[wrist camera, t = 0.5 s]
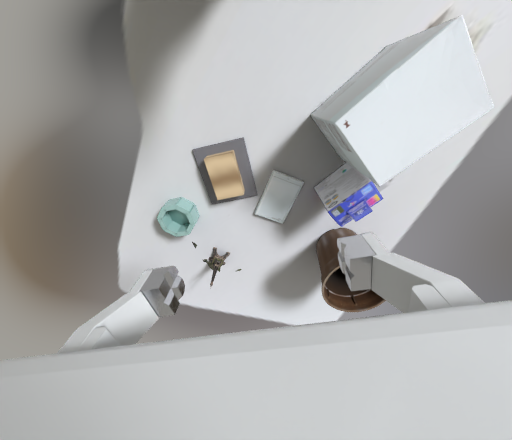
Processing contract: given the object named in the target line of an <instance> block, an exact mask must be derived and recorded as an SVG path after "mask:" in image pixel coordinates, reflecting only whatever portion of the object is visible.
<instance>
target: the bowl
mask: <svg viewBox="0 0 512 440" xmlns="http://www.w3.org/2000/svg"><path fill="white" fill-rule="evenodd" d="M157 218H158V221H159V223H160V225H161V227H162V229H163V230H164V231H165V232H167V233H169V234H171V235H173V236H175V237H176V236H177V237H179V236H184V235H189V234H190V233H191V231H192V229H193V227H194V226H195V224H196V222H197V220H198V218H199V213H198V210H197V208H196V205H194V203H192V202H190V201H188V200H187V199H185V198H183V197H180V198H175V199H170V200H168V202H167V203H166V204H165V205H164V206H163V207H162V208H161V211H160V213H159V215H158V217H157Z"/></svg>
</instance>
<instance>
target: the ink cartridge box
mask: <svg viewBox="0 0 512 440" xmlns="http://www.w3.org/2000/svg"><path fill="white" fill-rule="evenodd" d="M314 189H315V190H316V192H317V194H318V196H319V197H320V199H321V201H322V202H323V204H324V206H325V208H326V210H327V211H328V213H329V214H330V215H331V217H332V218H333V219H334V220H335V221H336V222H337V223H338V225H340V226H341V227H342V226H343V225H345V224H346V223H348V222H349V221H351V220H352V219H354V220H355V221H358V220H360V219H361V218H363V217H364V216H366V215H367V214H369V213H370V212H372V209H371V208H370V207H372V206H373V205H375V204H376V203H378V202H379V201H381V200H382V199H383V198H382V196H381V194H380V193H379V191H378V190H377V188H376V187H375V185H374V184H373V182H372V181H371V180H370V179H368V178H367V177H366V176H364V175H363V174H361V173H360V172H359V171H358V170H356V169H355V168H354V167H352V166H351V165H350V164H348V163H347V162H346V163H345V164H344V165H343V166H341V167H340V168H339V169H337V170H336V171H335V172H334V173H332V174H331V175H330V176H328V177H327V178H326V179H325V180H323V181H322V182H321V183H319V184H318V185H317V186H315V187H314ZM361 213H362V214H361Z"/></svg>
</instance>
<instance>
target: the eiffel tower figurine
mask: <svg viewBox="0 0 512 440" xmlns="http://www.w3.org/2000/svg"><path fill="white" fill-rule="evenodd" d="M192 243H193V242H192ZM193 245H194V247H195V248H196V246H197V245H196V244H195V243H193ZM216 249H217V248H215V247H214V248H213V251H214V257H213V258H211V257H209V260H210V262H208V261H207V259H204V260H203V261H204V262H206V263H207V264H208V265H209V267H210V268H211V269H212V270H213V275H212V281H211V284H210V286H212V285H213V281H214V278H215V275H216V272H217V270H218V271H220V267H221V266H222V265H225V262H224V260H225V259H226V257H227V256H228V255H230V253H229V252H227V253H226V255H224V256H219V255H218V254H217V250H216ZM217 260H218V261H220V262H219V263H218V262H217ZM240 270H241V269H239V270H237V271H240ZM235 272H236V271H235ZM210 288H211V287H210Z"/></svg>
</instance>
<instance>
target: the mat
mask: <svg viewBox="0 0 512 440" xmlns="http://www.w3.org/2000/svg"><path fill="white" fill-rule="evenodd" d="M231 150H234V152H235V156H236V160H237V163H238V167H239V171H240V175H241V178H242V182H243V186H244V189H245V191H244V195H241V196H236V197H231V198H226V199H221V200H217V197H216V194H215V191H214V188H213V185H212V182H211V179H210V176H209V174H208V171H207V168H206V165H205V162H204V158H205V157H206V156H209V155H214V154H218V153H222V152H226V151H231ZM193 153H194V156H195V159H196V161H197V164H198V167H199V170H200V172H201V175H202V178H203V181H204V183H205V186H206V189H207V192H208V195H209V197H210V200H211V203H212V204H217V203H221V202H226V201H231V200H236V199H241V198H246V197H251V196H256V195H257V191H256V187H255V183H254V178H253V174H252V170H251V166H250V162H249V158H248V154H247V150H246V146H245V141H244V137H243V138H239V139H235V140H231V141H227V142H222V143H218V144H214V145H210V146H206V147H201V148H197V149H193Z"/></svg>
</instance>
